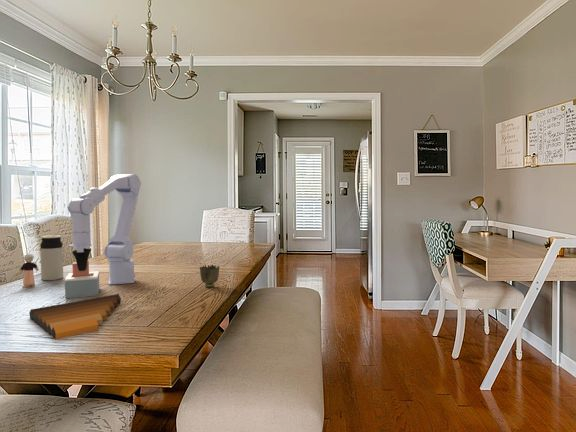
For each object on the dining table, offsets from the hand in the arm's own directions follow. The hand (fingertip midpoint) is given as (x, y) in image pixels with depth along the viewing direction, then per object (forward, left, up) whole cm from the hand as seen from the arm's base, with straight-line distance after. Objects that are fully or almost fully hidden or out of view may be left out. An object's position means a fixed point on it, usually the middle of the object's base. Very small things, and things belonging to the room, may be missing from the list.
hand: (82, 269), depth 146 cm
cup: (-44, +8, -9) cm, 46 cm away
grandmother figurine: (+20, -20, -9) cm, 30 cm away
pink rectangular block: (+1, 0, -2) cm, 2 cm away
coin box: (0, 0, -8) cm, 8 cm away
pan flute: (-4, +33, -9) cm, 35 cm away
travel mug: (+14, -32, -9) cm, 36 cm away
